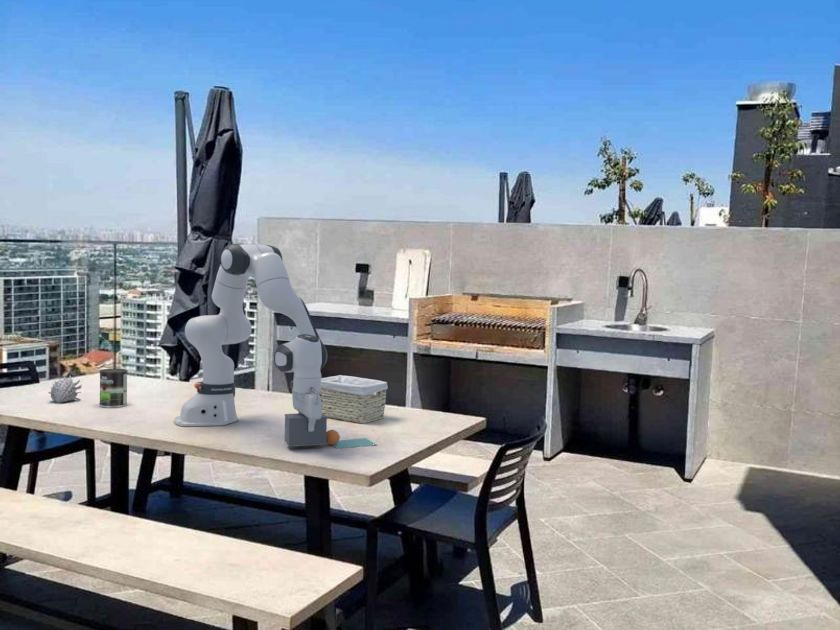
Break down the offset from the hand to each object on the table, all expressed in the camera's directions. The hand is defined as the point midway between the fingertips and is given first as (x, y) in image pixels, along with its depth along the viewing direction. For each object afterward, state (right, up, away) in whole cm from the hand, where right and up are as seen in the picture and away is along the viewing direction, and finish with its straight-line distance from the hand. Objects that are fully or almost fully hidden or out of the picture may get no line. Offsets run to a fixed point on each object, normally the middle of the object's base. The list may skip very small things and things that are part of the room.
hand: (306, 428), depth 250 cm
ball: (+8, -4, +4) cm, 9 cm away
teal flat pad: (+14, -6, +7) cm, 17 cm away
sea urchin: (-107, +1, +65) cm, 125 cm away
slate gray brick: (0, -5, 0) cm, 5 cm away
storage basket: (+10, -3, +49) cm, 50 cm away
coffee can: (-85, 0, +59) cm, 104 cm away
